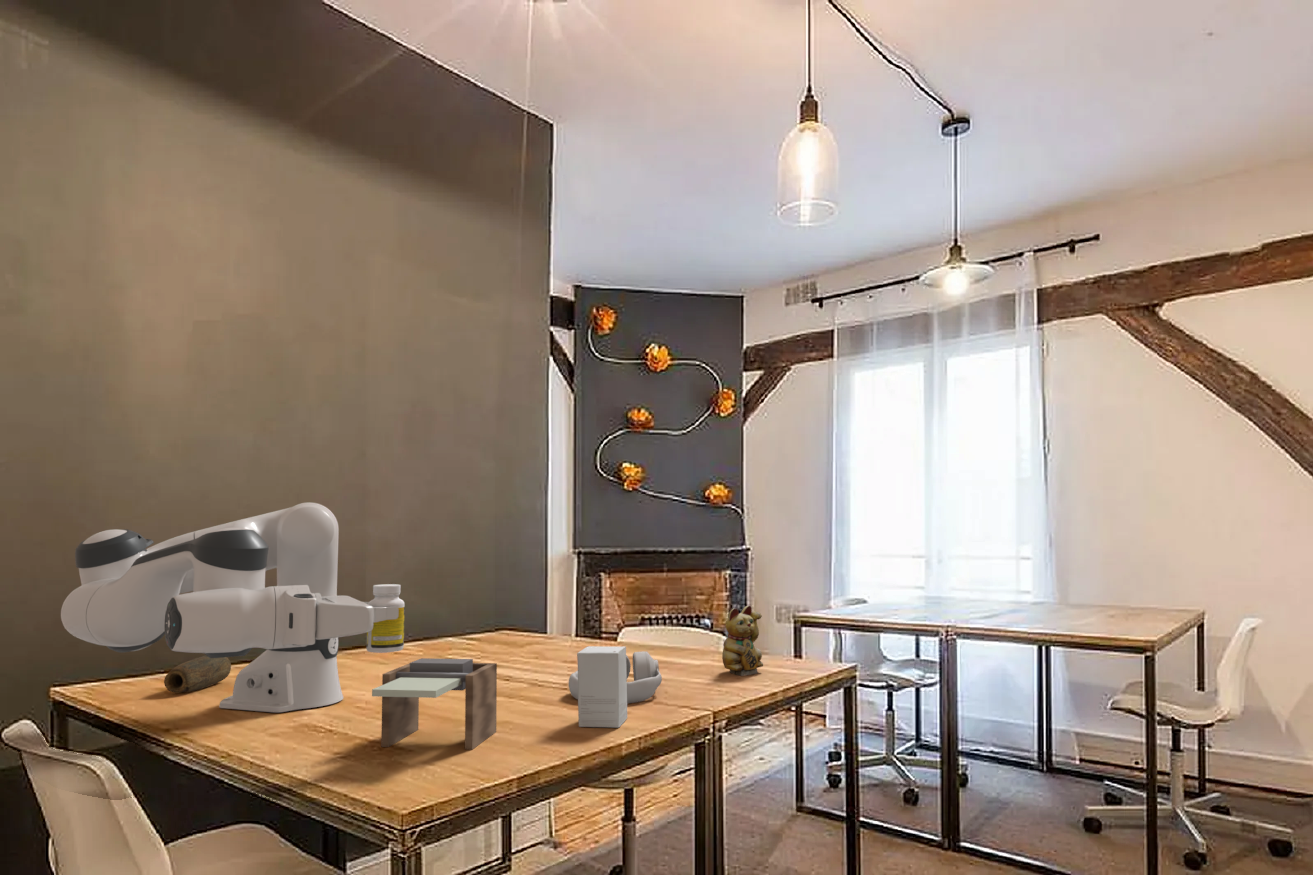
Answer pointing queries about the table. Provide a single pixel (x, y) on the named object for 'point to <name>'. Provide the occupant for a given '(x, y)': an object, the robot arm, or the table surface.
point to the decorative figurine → (742, 642)
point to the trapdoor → (428, 678)
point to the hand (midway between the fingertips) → (392, 610)
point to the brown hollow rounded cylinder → (197, 674)
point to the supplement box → (602, 686)
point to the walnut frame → (478, 707)
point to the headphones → (643, 682)
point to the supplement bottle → (387, 621)
